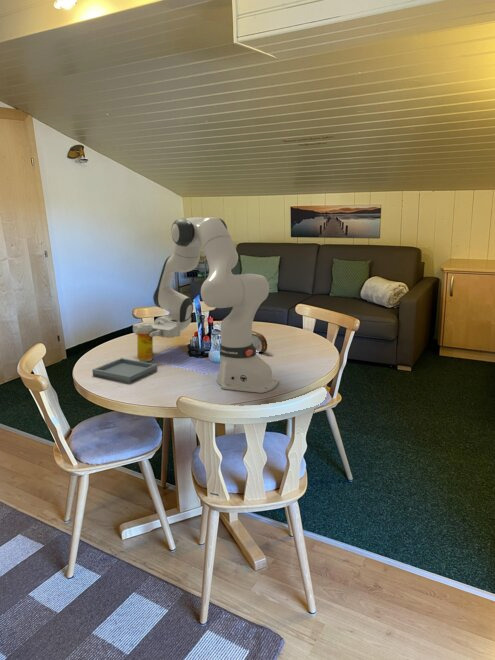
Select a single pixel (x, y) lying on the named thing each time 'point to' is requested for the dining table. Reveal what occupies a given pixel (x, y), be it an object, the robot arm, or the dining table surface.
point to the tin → (259, 341)
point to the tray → (125, 370)
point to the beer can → (144, 342)
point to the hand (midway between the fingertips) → (143, 334)
